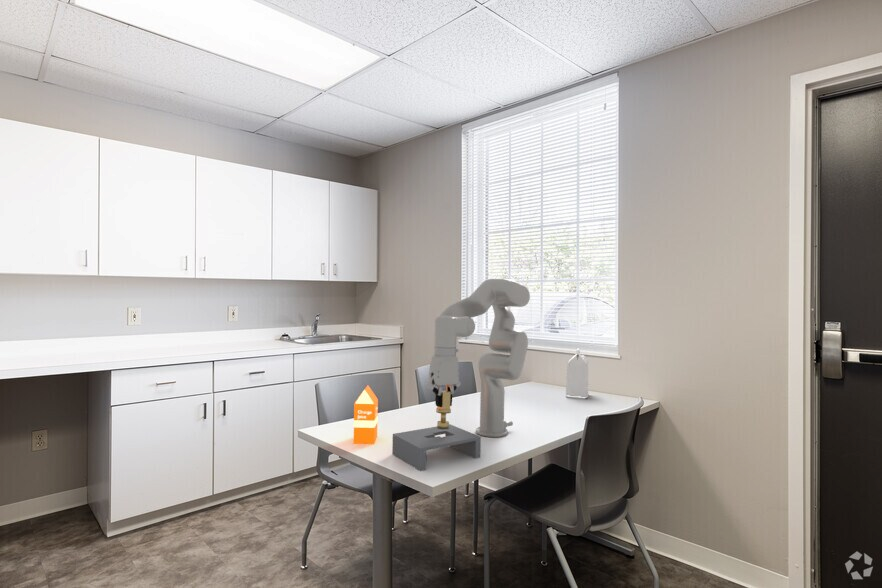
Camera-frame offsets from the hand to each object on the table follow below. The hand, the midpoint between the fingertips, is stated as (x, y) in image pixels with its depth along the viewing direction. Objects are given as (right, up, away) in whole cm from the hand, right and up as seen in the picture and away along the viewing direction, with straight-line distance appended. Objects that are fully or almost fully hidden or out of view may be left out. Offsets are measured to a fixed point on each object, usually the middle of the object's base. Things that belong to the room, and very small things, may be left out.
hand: (443, 405), depth 165 cm
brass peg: (0, -8, 0) cm, 8 cm away
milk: (+74, -18, +101) cm, 126 cm away
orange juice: (-29, -17, +14) cm, 36 cm away
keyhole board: (-3, -17, -1) cm, 17 cm away
